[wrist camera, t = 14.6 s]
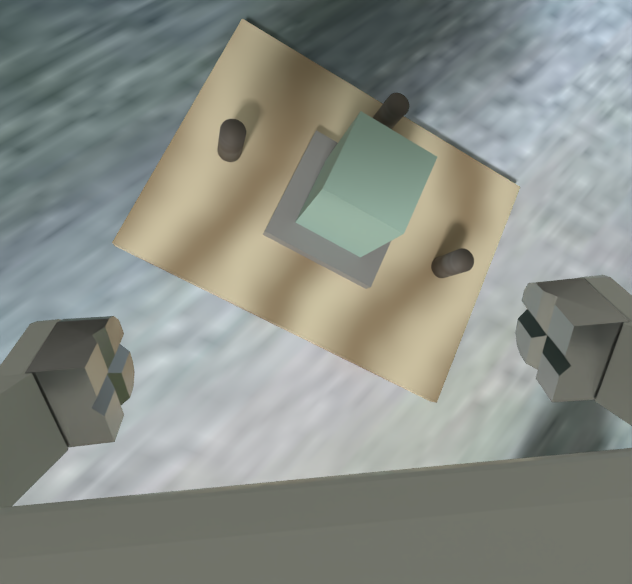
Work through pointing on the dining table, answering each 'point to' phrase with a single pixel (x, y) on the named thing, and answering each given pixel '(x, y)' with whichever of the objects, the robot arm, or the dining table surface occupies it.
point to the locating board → (267, 190)
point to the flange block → (351, 198)
